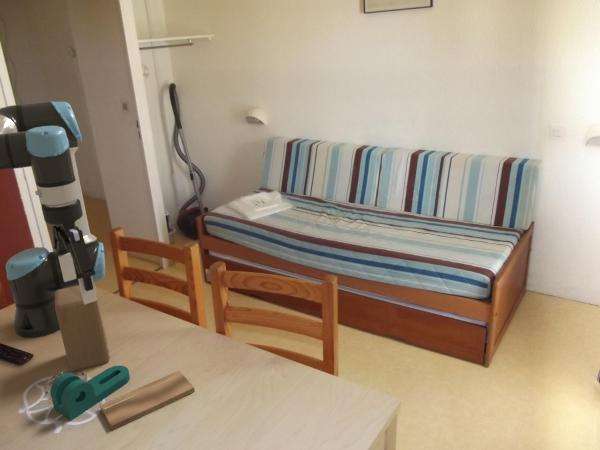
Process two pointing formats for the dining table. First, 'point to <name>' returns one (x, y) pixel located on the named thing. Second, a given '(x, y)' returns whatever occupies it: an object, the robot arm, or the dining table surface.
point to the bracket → (85, 390)
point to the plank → (146, 399)
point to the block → (81, 329)
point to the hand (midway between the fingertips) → (80, 290)
